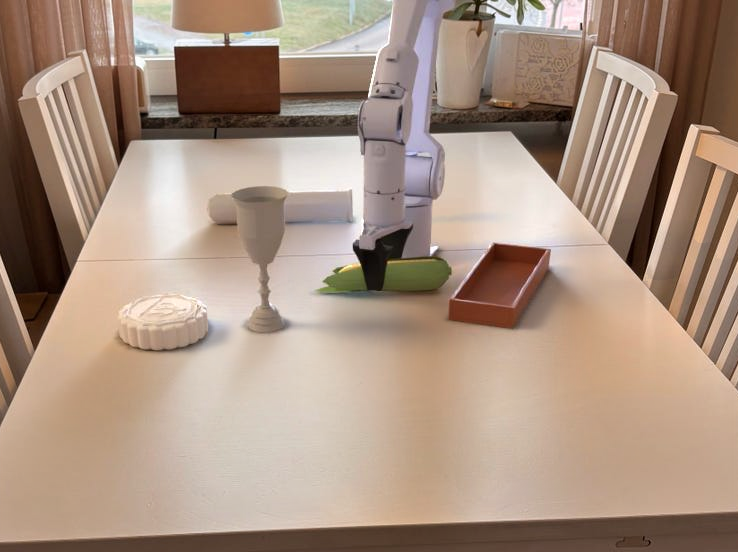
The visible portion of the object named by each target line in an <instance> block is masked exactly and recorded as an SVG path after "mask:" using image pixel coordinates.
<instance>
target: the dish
mask: <svg viewBox="0 0 738 552" xmlns="http://www.w3.org/2000/svg"><path fill="white" fill-rule="evenodd" d="M551 251H552V249H551V248H544V247H538V246H537V247H535V246H527V245H517V244H509V243H502V242H501V243H499V242H491V244H490V245H489V246H488V248H487V249H486V250H485V252H484V253H483V255H482V256H481V257H480V258H479V260H478V261H477V262H476V264H475V265H474V266H473V268H472V269H471V270H470V272H469V273H468V274H467V275H466V277H465V279H463V280H462V283H460V285H459V286H458V288H457V289H456V290H455V292H454V293H453V294H452V295H451V297H450V298H449V303H448V318H447V319H448V320H449V321H455V322H462V323H469V324H475V325H476V324H477V325H483V326H490V327H496V328H497V327H498V328H505V329H514V327H515V326H516V324H517V322H518V321H519V318H520V317H521V315H523V312H524V310H525V309H526V307H527V306H528V304H529V302H530V300H531V299H532V297H533V296H534V294H535V292H536V291H537V289H538V287H539V285H540V284H541V283H542V280H543V278H544V277H545V275H546V274H547V272H548V270H549V269H550V261H551Z"/></svg>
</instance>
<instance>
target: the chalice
mask: <svg viewBox="0 0 738 552" xmlns="http://www.w3.org/2000/svg"><path fill="white" fill-rule="evenodd" d="M287 191H288V190H287V189H286V188H285V189H284V188H282V187H278V186H269V185H257V186H249V187H245V188H241V189H237V190H235V191H233V192H231V193H232V198H233V200H234V201H235V203H236V210H237V234H238V236H239V239H240V241H241V244H242V247H243V248H244V250H245V251H246V253H247V255H248V257H249V259H250V260H251V262H252V263H253V264H255V265H258V267H259V275H258V277H257V280H258V281H259V283H260V286H259V289H258V291H257V293H258V294H259V296H260V298H261V301H260V304H259V305H257V306H256V307H255V308H254V310H252V312H251V316H250V317H249V322H248V323H247V327H248V329H249V330H251V331H252V332H256V333H273V332H277V331H279V330H281V329H283V328H284V327H285V322H284V320H283V317H282V316H281V314H280V310H279V309H278V308H276V306H274V305H272V303H270V300H269V296H270V293H272V290H271V289H270V288H269V285H268V284H269V280H270V279H271V277H270V276H269V272H268V265H270V264H272V263H273V262H274V261H275V259H276V257H277V254H278V252H279V250H280V248H281V245H282V242H283V239H284V236H285V231H286V222H285V214H284V201H285V199H286V197H287V194H288V192H287Z"/></svg>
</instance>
